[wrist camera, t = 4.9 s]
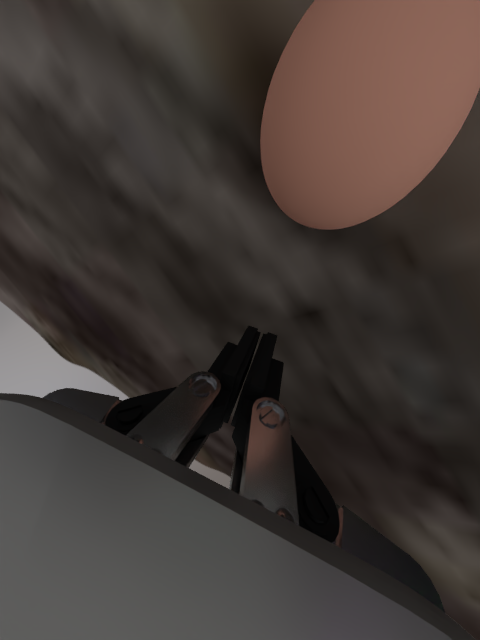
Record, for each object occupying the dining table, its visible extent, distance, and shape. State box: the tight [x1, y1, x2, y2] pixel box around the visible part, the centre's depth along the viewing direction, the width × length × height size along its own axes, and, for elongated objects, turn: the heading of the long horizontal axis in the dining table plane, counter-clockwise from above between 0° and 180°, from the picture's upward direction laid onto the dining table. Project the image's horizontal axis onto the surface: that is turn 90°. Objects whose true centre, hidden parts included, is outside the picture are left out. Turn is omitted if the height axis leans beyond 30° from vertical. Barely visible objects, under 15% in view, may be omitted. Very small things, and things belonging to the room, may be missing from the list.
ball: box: [260, 0, 480, 230], centre depth 6 cm, size 6×6×6 cm
